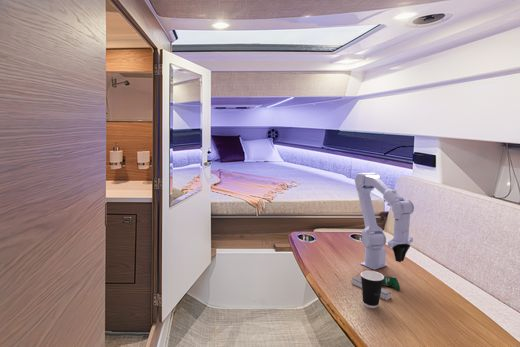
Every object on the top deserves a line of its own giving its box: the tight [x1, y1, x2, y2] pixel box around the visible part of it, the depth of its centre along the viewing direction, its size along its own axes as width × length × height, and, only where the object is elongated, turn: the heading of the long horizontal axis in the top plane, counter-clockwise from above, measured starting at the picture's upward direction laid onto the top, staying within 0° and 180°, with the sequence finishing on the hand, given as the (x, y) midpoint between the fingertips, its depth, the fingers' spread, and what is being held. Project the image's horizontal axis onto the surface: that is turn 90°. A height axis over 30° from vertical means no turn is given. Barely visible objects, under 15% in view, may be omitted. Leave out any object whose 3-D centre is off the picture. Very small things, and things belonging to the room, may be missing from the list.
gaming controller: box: [382, 275, 401, 292], centre depth 127 cm, size 9×4×6 cm
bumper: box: [351, 276, 392, 301], centre depth 123 cm, size 3×16×2 cm, turn 33°
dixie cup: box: [360, 270, 385, 309], centre depth 112 cm, size 8×8×11 cm
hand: (399, 260), depth 132 cm, fingers closed
